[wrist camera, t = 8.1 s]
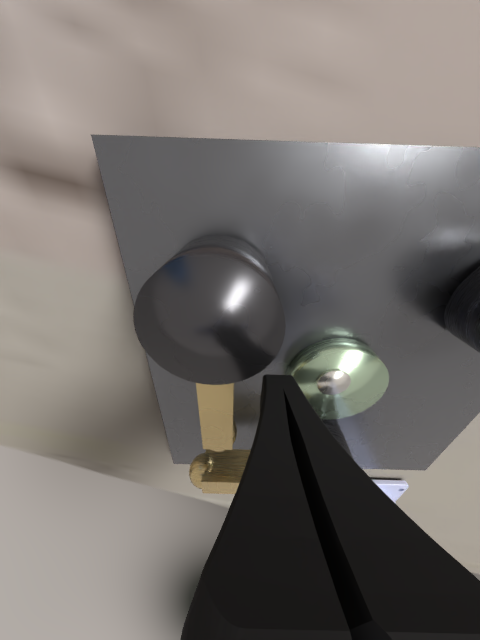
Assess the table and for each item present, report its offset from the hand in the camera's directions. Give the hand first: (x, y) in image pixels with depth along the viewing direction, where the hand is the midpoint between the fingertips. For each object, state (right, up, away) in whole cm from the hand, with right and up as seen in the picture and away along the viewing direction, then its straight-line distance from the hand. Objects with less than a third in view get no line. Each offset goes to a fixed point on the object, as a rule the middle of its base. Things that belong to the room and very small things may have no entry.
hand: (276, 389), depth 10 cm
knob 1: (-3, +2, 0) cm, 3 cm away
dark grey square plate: (+3, +1, +3) cm, 4 cm away
